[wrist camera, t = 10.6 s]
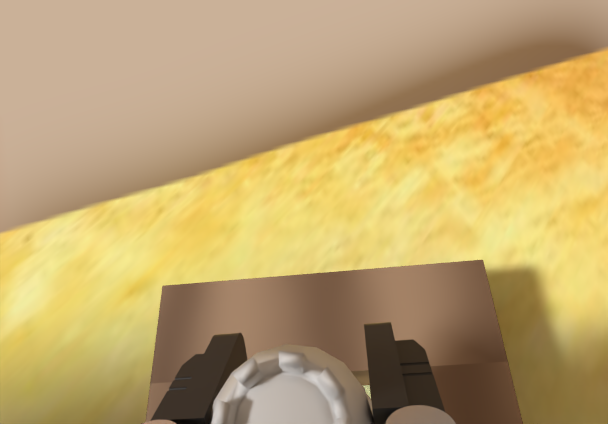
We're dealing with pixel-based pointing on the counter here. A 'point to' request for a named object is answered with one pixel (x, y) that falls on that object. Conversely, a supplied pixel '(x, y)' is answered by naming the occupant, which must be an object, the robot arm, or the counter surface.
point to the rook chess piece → (292, 390)
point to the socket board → (353, 327)
